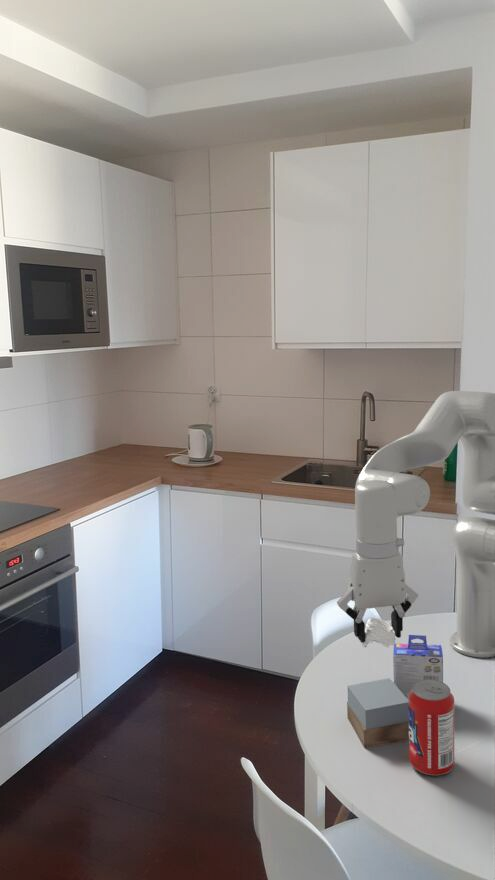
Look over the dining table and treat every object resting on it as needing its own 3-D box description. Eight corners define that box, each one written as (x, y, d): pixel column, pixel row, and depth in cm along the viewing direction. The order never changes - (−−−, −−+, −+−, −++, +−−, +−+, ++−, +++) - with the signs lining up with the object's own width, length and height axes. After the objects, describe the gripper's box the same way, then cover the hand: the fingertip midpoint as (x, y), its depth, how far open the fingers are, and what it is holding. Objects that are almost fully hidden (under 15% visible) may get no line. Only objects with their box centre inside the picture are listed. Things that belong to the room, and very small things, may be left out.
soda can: (448, 784, 120) (448, 704, 117) (403, 772, 124) (402, 694, 121) (458, 758, 126) (459, 682, 124) (415, 747, 130) (415, 673, 128)
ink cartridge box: (442, 698, 146) (442, 633, 143) (444, 713, 141) (444, 646, 138) (394, 695, 148) (393, 631, 145) (394, 709, 143) (393, 644, 140)
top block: (389, 696, 141) (389, 678, 140) (410, 721, 132) (409, 701, 132) (348, 704, 139) (347, 685, 138) (365, 729, 130) (365, 710, 130)
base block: (394, 712, 142) (394, 694, 142) (414, 741, 133) (414, 722, 132) (347, 719, 141) (347, 701, 140) (364, 749, 131) (363, 730, 130)
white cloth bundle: (358, 637, 137) (355, 613, 137) (392, 632, 137) (389, 609, 137) (364, 654, 130) (360, 629, 129) (400, 649, 129) (396, 624, 129)
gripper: (412, 536, 135) (413, 623, 138) (326, 545, 132) (329, 633, 135) (429, 548, 128) (429, 640, 131) (337, 559, 125) (340, 651, 128)
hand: (378, 636), depth 133 cm, fingers closed on white cloth bundle, 6 cm apart
